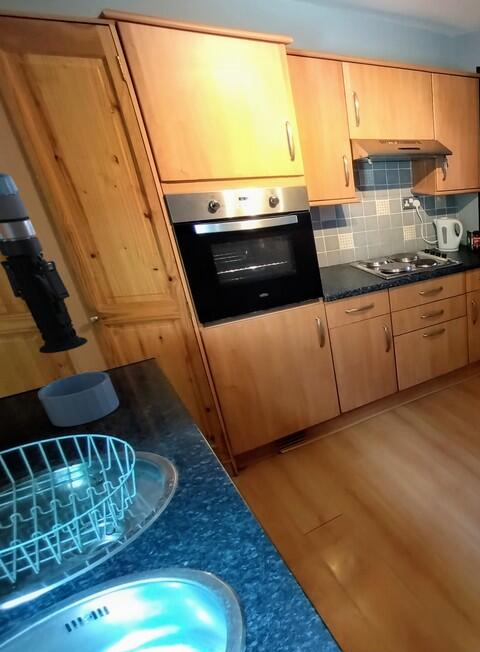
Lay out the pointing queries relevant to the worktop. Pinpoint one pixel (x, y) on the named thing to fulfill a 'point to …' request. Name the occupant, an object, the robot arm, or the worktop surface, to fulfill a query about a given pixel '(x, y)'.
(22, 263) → the handle grip
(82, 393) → the blue round bowl
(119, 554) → the worktop surface
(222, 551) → the worktop surface
